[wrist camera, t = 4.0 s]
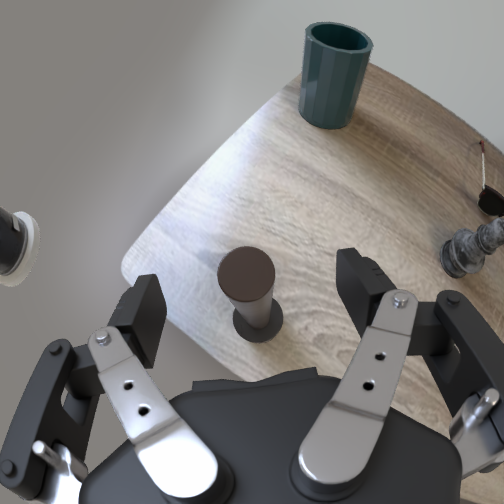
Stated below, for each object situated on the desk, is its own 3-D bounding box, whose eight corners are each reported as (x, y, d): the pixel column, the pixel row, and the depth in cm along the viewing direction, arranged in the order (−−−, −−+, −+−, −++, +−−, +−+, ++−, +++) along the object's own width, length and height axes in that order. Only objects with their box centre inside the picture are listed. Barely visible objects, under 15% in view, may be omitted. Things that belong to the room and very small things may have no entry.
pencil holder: (289, 116, 40) (295, 38, 27) (309, 86, 42) (318, 16, 29) (343, 137, 38) (365, 61, 25) (357, 105, 40) (378, 36, 27)
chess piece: (472, 247, 32) (525, 212, 21) (467, 286, 31) (527, 259, 19) (441, 231, 33) (492, 188, 22) (435, 271, 32) (492, 237, 20)
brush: (231, 331, 31) (161, 299, 10) (250, 296, 32) (222, 197, 11) (268, 350, 30) (274, 360, 9) (287, 314, 31) (329, 246, 10)
